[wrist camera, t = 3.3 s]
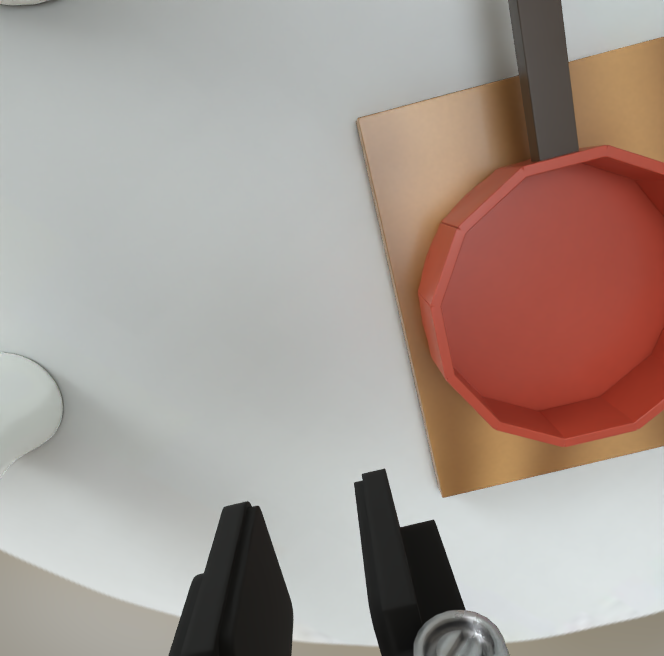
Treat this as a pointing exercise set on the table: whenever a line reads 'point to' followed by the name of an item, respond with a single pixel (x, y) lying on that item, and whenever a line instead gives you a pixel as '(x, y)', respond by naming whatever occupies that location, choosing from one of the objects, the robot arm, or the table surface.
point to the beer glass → (25, 407)
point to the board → (444, 194)
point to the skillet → (552, 270)
